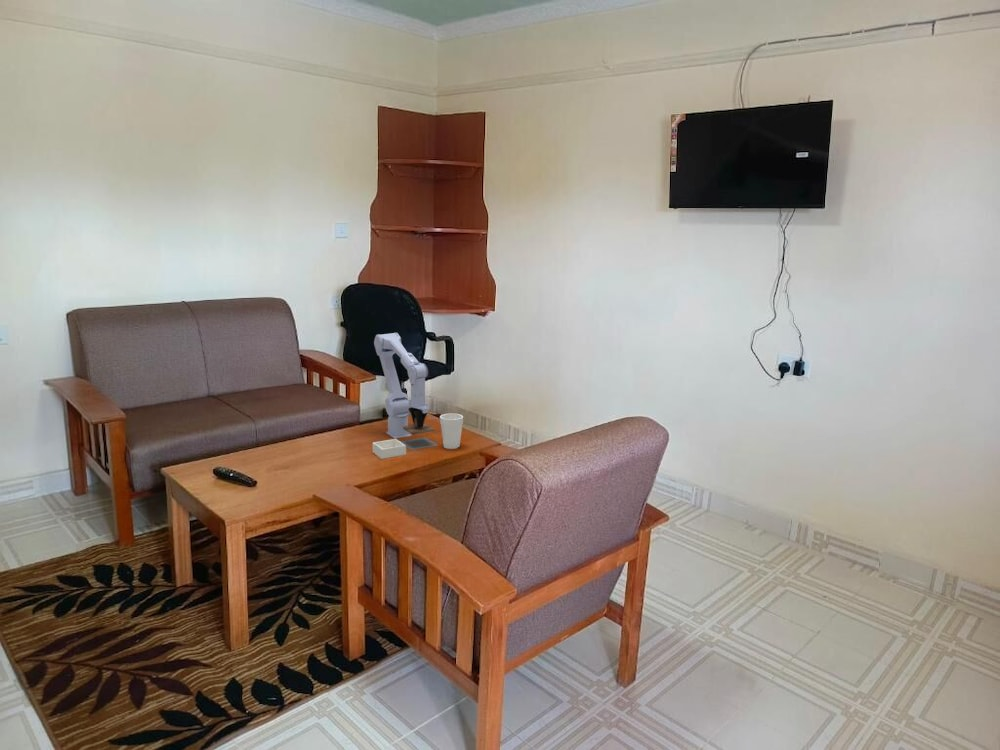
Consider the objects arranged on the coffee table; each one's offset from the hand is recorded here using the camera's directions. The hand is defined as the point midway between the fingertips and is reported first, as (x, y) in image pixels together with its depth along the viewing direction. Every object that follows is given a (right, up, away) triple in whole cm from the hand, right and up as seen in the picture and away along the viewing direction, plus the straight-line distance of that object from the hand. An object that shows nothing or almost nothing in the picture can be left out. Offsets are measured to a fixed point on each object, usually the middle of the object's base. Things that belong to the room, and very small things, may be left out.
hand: (418, 425), depth 288 cm
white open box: (-10, -10, -10) cm, 18 cm away
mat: (0, -8, +2) cm, 8 cm away
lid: (0, -2, 0) cm, 2 cm away
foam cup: (+14, -9, -1) cm, 16 cm away
